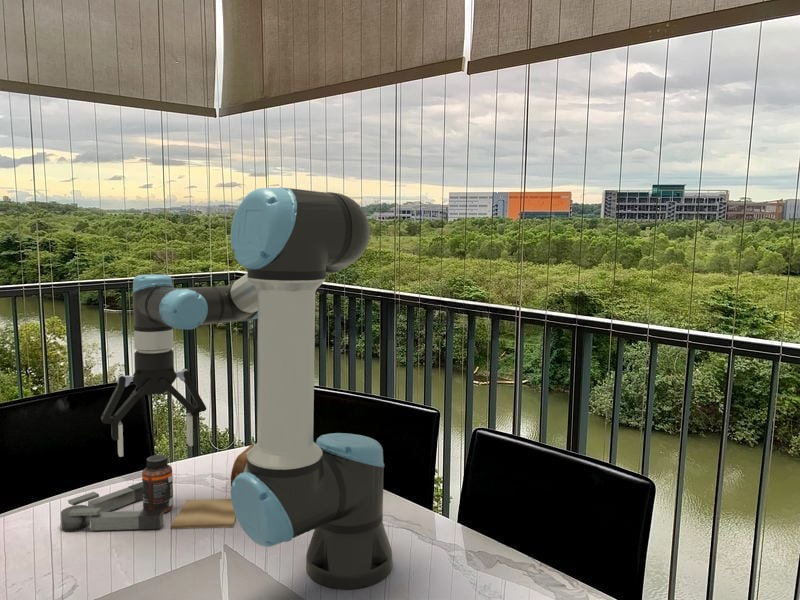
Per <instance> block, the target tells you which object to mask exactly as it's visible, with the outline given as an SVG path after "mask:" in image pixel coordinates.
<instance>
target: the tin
mask: <svg viewBox="0 0 800 600" xmlns="http://www.w3.org/2000/svg"><path fill="white" fill-rule="evenodd" d="M255 445H256V444H250V445H249V446H248V447H247V448H246V449H245V450H243V451H242V452H241V453H240V454H238V456H237V457H236V458H235V460H234V463H233V465H232V469H231V473H230V487H231V486H232V483H233V481H234V479H235V478H236V477H237V476H238V475H239V474H240V473H243V472H247V453H248V452H249V451H250V449H251V448H253V447H254V446H255Z"/></svg>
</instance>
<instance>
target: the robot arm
mask: <svg viewBox="0 0 800 600" xmlns="http://www.w3.org/2000/svg"><path fill="white" fill-rule="evenodd" d="M370 229H371V227H370V222H369V219H368V216H367V214H366V212H365V211H364V210H363V208H362V206H361V205H360V204H359V203H358V202H357V201H355V200H354V199H353V198H351V197H349V196H347V195H345V194H342V193H337V192H331V191H330V192H329V191H328V192H326V191H317V190H316V191H315V190H309V189H308V190H307V189H301V188H299V189H297V188H289V187H282V186H280V187H262V188H261V187H260V188H256V189H254V190H252V191H250V192H249V193H248V194H247V195H245V197H244V198H243V199H242V200H241V203H240V204H239V205H238V206H237V209H236V210H235V212H234V215H233V218H232V222H231V227H230V246H231V250H232V251H233V253H234V254H233V257H234V258H235V260H236V263H238V264H239V265H241V266H242V267H243V268H245V269H247V273H245V274H244V275H242V276H241V277H240V278H238V279H236V280H235V281H234V282H232V283H230V284H228V285H219V286H218V285H217V286H198V287H174V283H173V279H172V277H171V275H168V274H139V275H136V276H134V278H133V279H132V281H133V282H132V293H131V296H132V308H133V309H132V311H133V340H134V341H133V347H134V350H136V351H135V352H134V354H133V355H134V373H133V375H124V374H122V373H121V374H118V376H117V383H116V386H115V389H114V390H113V392H112V394H111V396H110V397H109V399H108V400H109V401H108V402H107V404H106V407H105V408H104V411H103V412H102V414H101V416H100V419H101V422H102V424H105V425H106V424H109V425H110V426H111V427H110V430H111V439H112V441H117V455H118V457H120V458H121V457H124V435H123V434H124V433H123V432H124V428H123V427H124V425H123V422H122V420H123V418H125V416H127V414H128V412H129V411H131V409H132V408H133V407H134V405H135V404H136V403H137V402H138V401H139V400H140V399H141V398H142V397H143V396H144V395H147V396H149V397H150V396H153V395H156V394H157V395H164V393H166V392H169V394H171V395H172V396H173V397H174V398H175V399H176V400H177V401H178V402H179V403H180V404H181V405H182V406H183V407H184V408H185V409H186V410H187V411H188V413H187V412H186V414H185V417H186V418H185V419H186V420H185V421H186V425H185V427H186V443H187V445H188V447H193V446H194V436H193V435H194V432H193V431H194V430H197V428H198V421H199V420H198V416H199V414H201V413H202V412H205V411H207V406H206V404H205V403H204V401H203V399H202V397H201V396H200V394H199V392H198V390H197V389H196V387H195V385H194V383H193V382H192V379H191V378H192V377H191V372H190V371H189V370H188V369H187V368H183V369H181V370H179V371H175V362H174V361H175V354H174V353H175V352H174V350H173V349H172V348H173V347H174V344H175V343H174V329H177V330H194V329H196V328H197V327H198V328H199V326H203V325H213V324H214V325H215V324H222V323H231V322H232V323H233V322H234V323H235V322H247V321H250V320H251V321H252V320H256V319H257V385H256V387H257V404H256V405H257V407H256V409H257V411H256V412H257V413H256V416H257V417H256V418H257V419H256V421H257V423H256V430H257V431H256V434H257V435H256V439H257V441H256V444H254V445H255V446H254V447H253V448H251V449H250V451H249V452H248V453H247V472H243V473H240V474H239V475H238V476H237V477H236V478H235V479H234V481H233V483H232V486H231V485H230V499H231V500H232V505H233V509H234V512H235V515H236V520H237V522H238V524H239V525H240V527H241V529H242V530H243V532H244V534H246V535H247V537H248V538H249V539H250V540H251V541H253V543H255V544H257V545H259V546H261V547H266V548H267V547H268V548H269V547H274V546H276V545H279V544H282V543H288V542H290V541H292V540H293V539H294V538H297V537H299V536H301V535H303V534H306V533H308V532H310V531H313V533H312V536H311V539H310V542H309V545H308V548H307V551H306V555H305V568H306V573H307V575H308V577H310V578H311V579H312V580H313V581H314V582H316V583H318V584H320V585H323V586H324V587H328V588H333V589H340V590H350V589H351V590H353V589H360V588H365V587H368V586H372V585H374V584H377V583H379V582H380V581H382V580H383V579H385V578H386V577H388V575H389V574H390V572H391V571H392V568H393V550H392V548H391V544H390V541H389V538H388V534H387V532H386V528H385V526H384V522H383V521H384V520H383V518H384V515H383V512H384V476H385V475H384V472H385V470H384V468H385V463H384V449H383V447H382V445H381V444H380V442H378V440H376V439H374V438H372V437H369V436H365V435H361V434H354V433H349V432H348V433H346V432H345V433H344V432H343V433H342V432H335V433H333V432H332V433H326V434H322V435H320V436H319V437H317V439H316V440H315V441H316V442H315V441H314V417H315V416H314V411H315V410H314V409H315V407H314V402H315V401H314V400H315V396H314V395H315V343H316V342H315V339H316V338H315V336H316V291H317V289H318V288H320V286H321V285H322V284H324V282H325V281H326V276H327V275H326V274H335V273H337V272H340V271H342V270H343V269H345V268H347V267H349V266H350V265H352V264H353V263H355V262H356V261H358V259H360V258H361V256H363V254H364V253H365V251H366V249H367V247H368V245H369V241H370V236H371V233H370V232H371V230H370ZM177 378H179V380H180V381H181V382H183V383H184V384H185V386H186V388H187V390H188V392H189V393H190V395H191V396H192V398H193V400H194V403H195V404H196V405H195V406H194V405H192V403H191V402H190V401H189V400H187V398H186V397H185V396H183V394H182V393H180V392H179V391H178V389H176V388H175V387H174V386H173V383H174V382H175V381H176V379H177ZM132 382H133V384H134V385H135V386H136V387H135V388H134V389H133V391H132V392H131V394H130V395H129V397H127V399H126V400H125V401H124V402H123V403H122V405H121V406H120V407H119V408H118V409H117V411H116V412H115V409H116V407H117V406H118V403H119V402H120V400H121V397H122V396H123V393H124V391H125V388H126V387H128V386H130V383H132ZM114 412H115V413H114ZM113 413H114V414H113Z"/></svg>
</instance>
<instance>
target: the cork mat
mask: <svg viewBox="0 0 800 600" xmlns="http://www.w3.org/2000/svg"><path fill="white" fill-rule="evenodd" d="M236 520H237V518H236V515H235V512H234V509H233V505H232V500H231V498H212V499H209V498H208V499H186V500H185V502H184V503H183V505H182V507H181V508H180V510H179V511H178V513H177V514H176V517H175V518H174V519H173V521H172V523H171V525H170V529H171V530H174V529H175V530H177V529H182V530H183V529H208V528H210V529H211V528H234V525H235V523H236Z"/></svg>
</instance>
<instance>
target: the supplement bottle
mask: <svg viewBox="0 0 800 600" xmlns="http://www.w3.org/2000/svg"><path fill="white" fill-rule="evenodd" d="M145 465H146V467H144V469H143V470H142V472H141V475H142V476H141V478H142V479H141V482H142V487H143V499H142V508H143V509H142V510H163V514H165V513H166V512H169V511H171V510H172V509H173V507H174V486H173V485H174V480H173V468H172V466H171V465H169V464H168V456H167V455H164V454H154V455H151V456H149V457H147V458H146V464H145Z"/></svg>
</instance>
